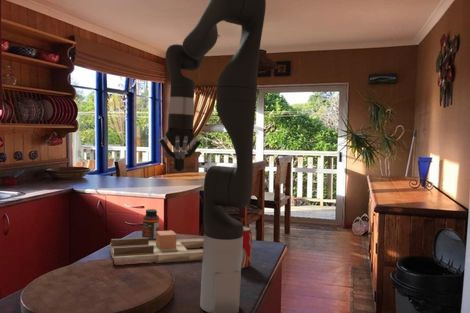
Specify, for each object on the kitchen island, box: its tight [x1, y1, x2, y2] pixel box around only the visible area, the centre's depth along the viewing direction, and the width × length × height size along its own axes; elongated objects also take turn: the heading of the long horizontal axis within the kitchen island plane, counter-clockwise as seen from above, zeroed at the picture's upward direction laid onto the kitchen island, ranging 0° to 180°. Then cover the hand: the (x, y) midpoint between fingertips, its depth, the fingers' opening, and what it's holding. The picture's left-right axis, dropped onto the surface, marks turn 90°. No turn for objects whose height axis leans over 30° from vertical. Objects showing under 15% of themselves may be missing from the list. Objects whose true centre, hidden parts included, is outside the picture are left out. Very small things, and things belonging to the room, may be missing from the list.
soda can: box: [241, 225, 253, 269], centre depth 123 cm, size 7×7×12 cm
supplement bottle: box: [141, 208, 160, 241], centre depth 146 cm, size 6×6×11 cm
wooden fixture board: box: [109, 237, 204, 264], centre depth 131 cm, size 16×35×4 cm, turn 112°
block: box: [156, 230, 177, 249], centre depth 131 cm, size 6×6×4 cm
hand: (178, 171), depth 118 cm, fingers closed
